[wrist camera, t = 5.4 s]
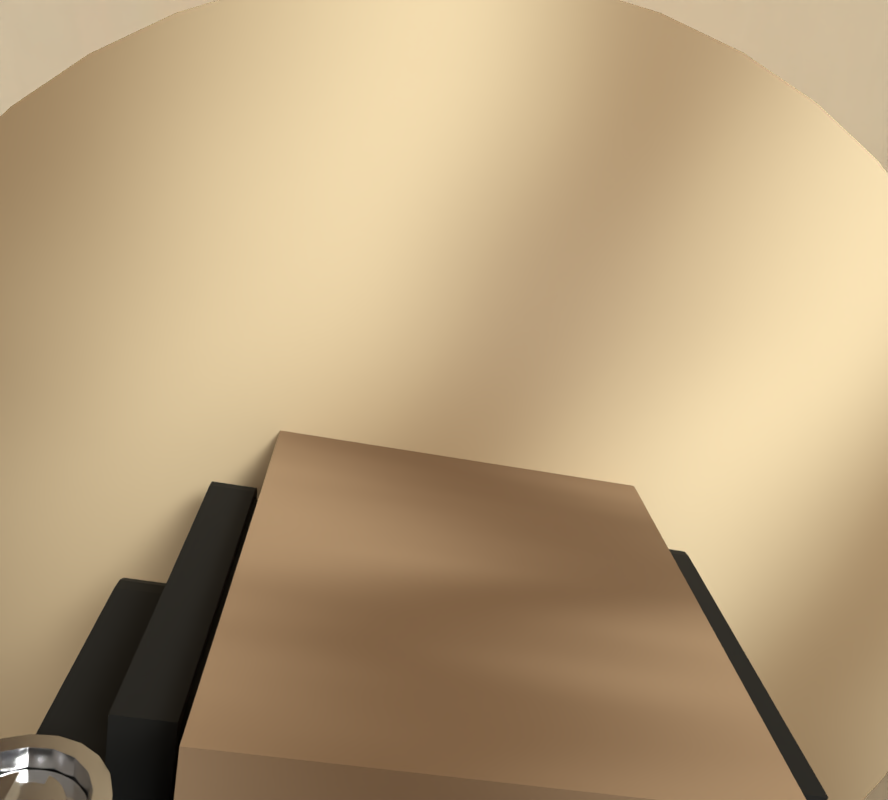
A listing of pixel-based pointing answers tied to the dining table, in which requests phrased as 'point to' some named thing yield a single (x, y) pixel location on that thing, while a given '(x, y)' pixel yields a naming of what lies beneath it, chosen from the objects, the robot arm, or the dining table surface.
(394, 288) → the lid
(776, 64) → the dining table surface
